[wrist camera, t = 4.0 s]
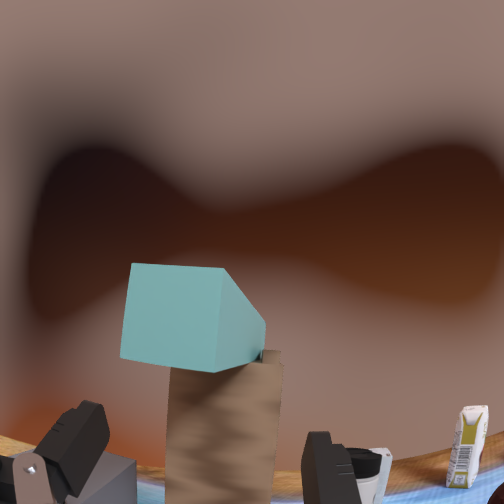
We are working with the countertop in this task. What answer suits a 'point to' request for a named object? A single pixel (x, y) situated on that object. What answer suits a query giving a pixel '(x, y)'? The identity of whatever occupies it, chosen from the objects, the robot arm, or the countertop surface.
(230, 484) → the walnut stand
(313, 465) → the robot arm
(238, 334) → the teal bar
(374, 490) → the travel mug
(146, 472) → the countertop surface
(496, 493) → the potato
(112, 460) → the charcoal pedestal
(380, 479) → the skincare box
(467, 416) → the juice carton
